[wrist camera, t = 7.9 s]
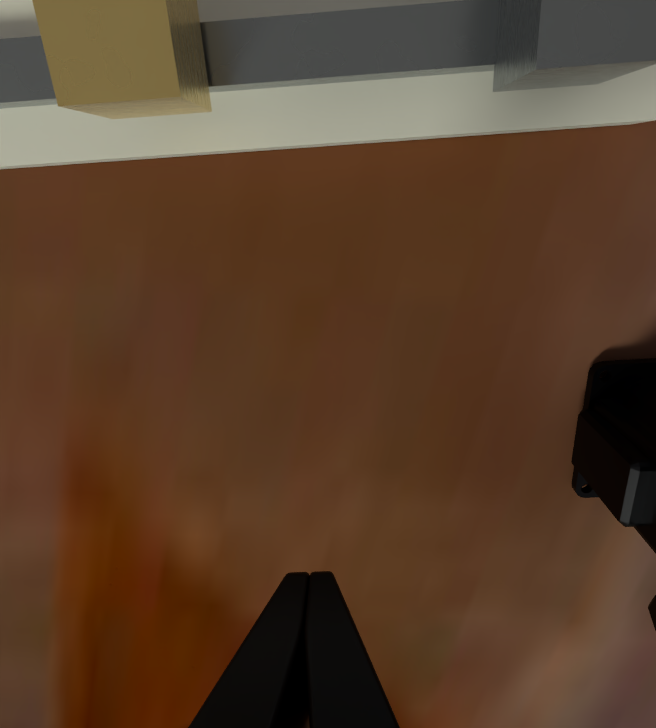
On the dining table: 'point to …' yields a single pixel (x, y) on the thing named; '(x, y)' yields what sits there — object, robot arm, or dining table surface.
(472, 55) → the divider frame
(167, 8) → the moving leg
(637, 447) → the robot arm
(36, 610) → the dining table surface
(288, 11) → the plate
